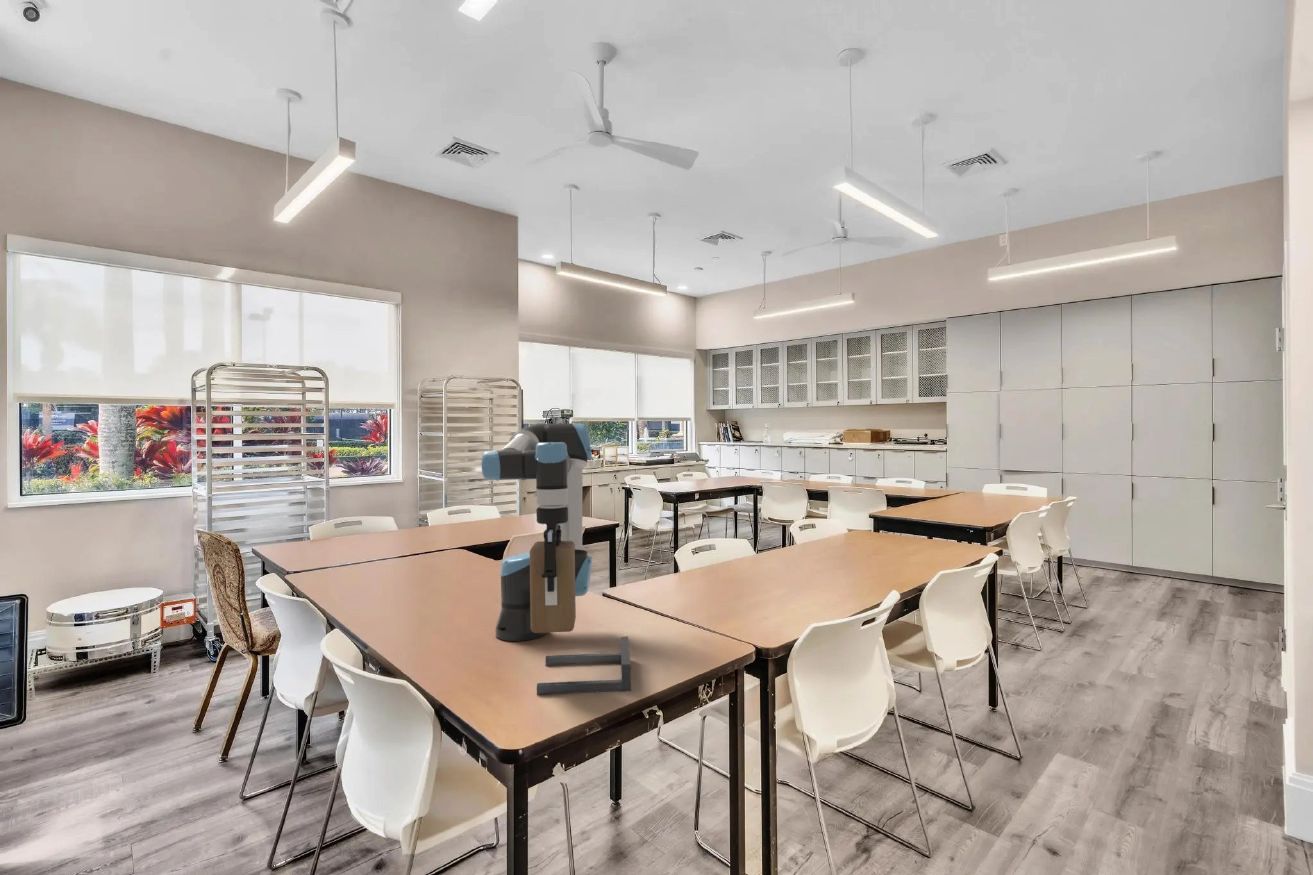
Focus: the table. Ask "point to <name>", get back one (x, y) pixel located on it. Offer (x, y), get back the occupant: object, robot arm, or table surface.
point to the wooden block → (565, 610)
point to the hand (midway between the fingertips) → (553, 598)
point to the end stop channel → (590, 686)
